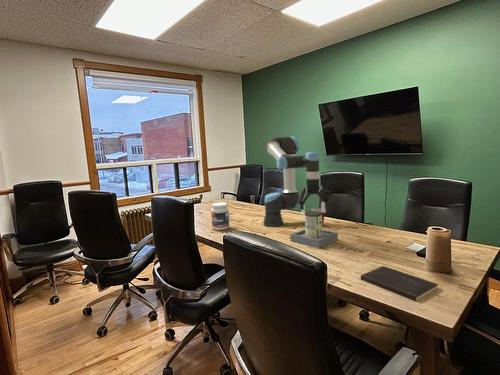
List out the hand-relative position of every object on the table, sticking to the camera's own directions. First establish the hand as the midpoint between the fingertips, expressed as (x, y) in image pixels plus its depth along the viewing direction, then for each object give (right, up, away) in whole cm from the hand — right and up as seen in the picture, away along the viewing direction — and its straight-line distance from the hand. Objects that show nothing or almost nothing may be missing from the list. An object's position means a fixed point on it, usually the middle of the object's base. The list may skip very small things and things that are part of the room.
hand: (313, 213), depth 175 cm
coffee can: (+1, -14, +2) cm, 14 cm away
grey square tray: (+1, -16, +2) cm, 17 cm away
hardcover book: (+21, -24, -57) cm, 66 cm away
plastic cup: (+12, -12, +36) cm, 39 cm away
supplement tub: (-59, -15, +40) cm, 73 cm away
